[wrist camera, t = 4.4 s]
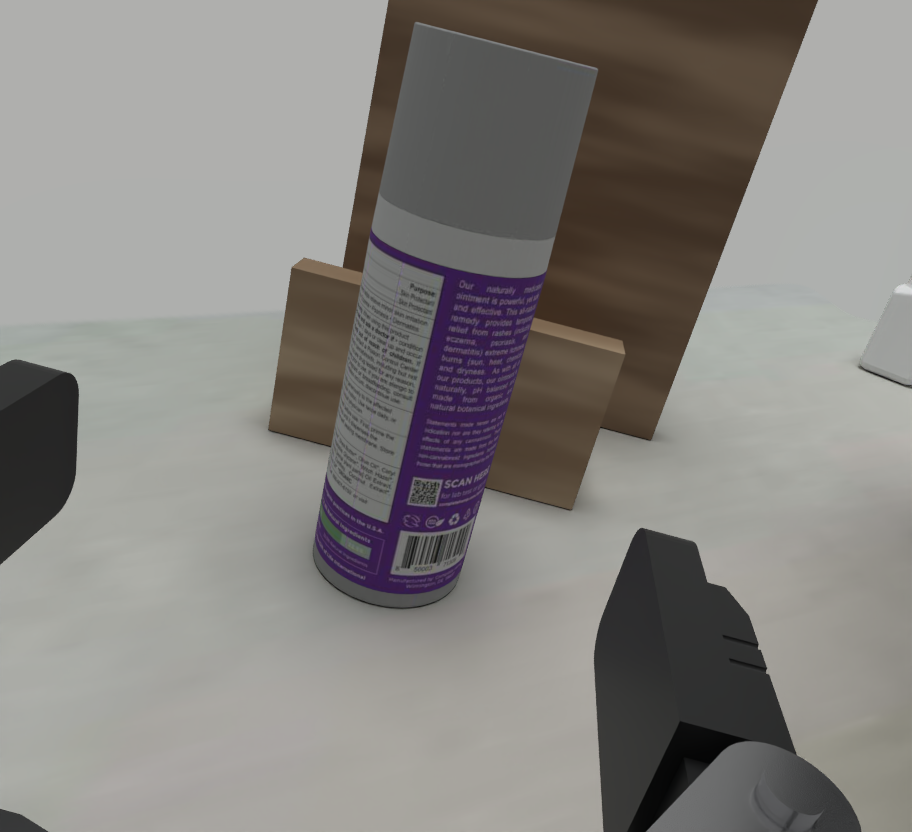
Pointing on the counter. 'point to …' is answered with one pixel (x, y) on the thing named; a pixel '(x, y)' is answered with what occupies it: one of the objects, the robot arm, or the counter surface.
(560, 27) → the board
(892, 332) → the pepper shaker
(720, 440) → the counter surface
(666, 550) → the robot arm
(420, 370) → the container
